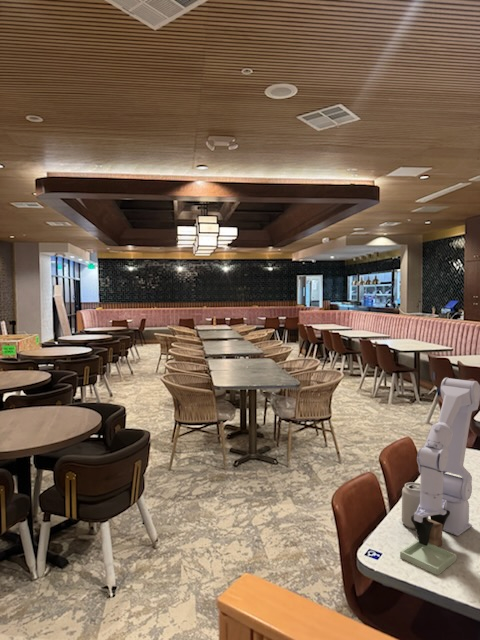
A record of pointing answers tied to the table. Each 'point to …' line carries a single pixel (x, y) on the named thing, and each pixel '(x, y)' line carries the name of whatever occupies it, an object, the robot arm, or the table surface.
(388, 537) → the table surface
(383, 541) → the table surface
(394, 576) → the table surface
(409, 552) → the tray
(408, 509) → the can
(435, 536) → the block
